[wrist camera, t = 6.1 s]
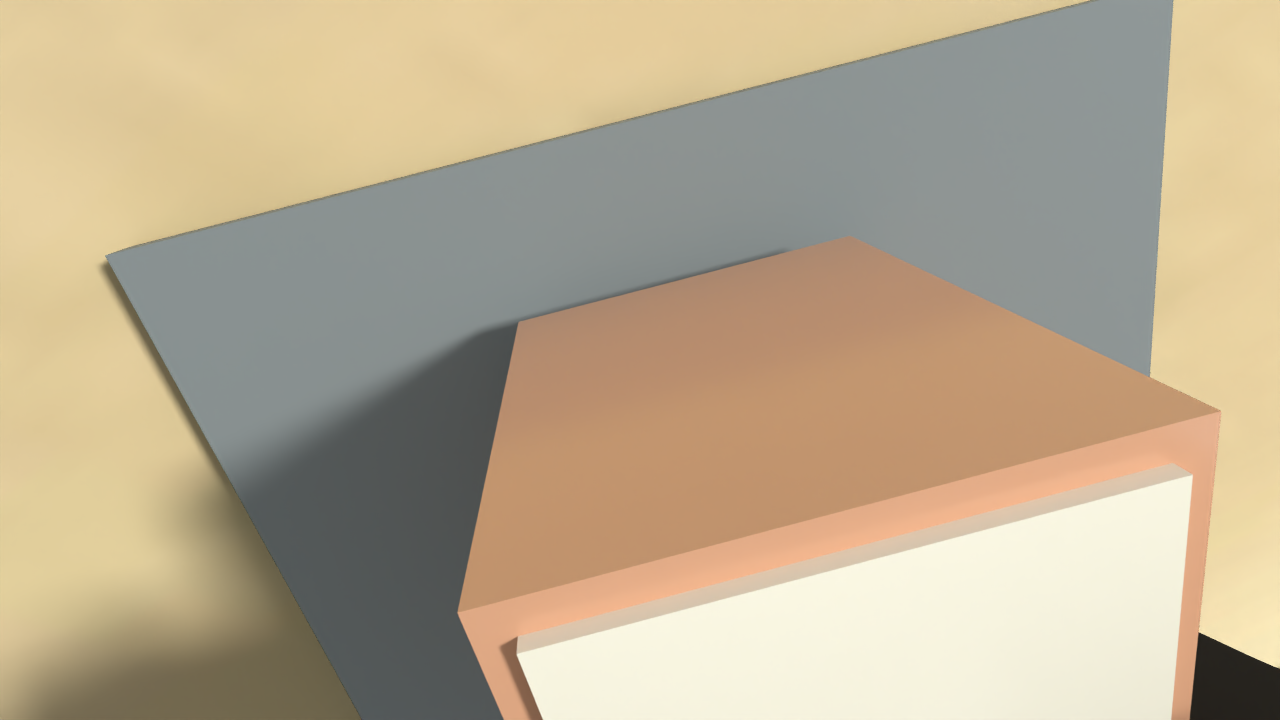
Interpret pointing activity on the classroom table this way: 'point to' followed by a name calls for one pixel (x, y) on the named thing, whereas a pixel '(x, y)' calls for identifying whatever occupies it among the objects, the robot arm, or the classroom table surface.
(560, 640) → the brick
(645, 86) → the classroom table surface
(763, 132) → the mat
